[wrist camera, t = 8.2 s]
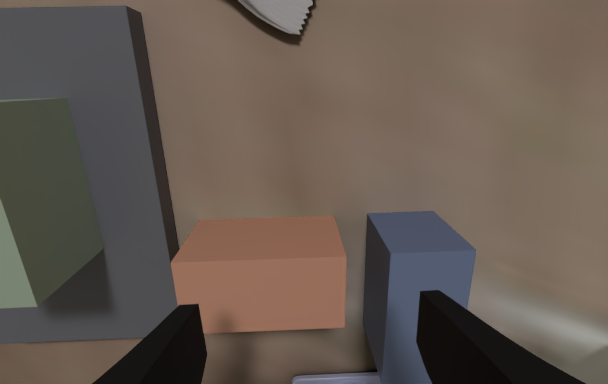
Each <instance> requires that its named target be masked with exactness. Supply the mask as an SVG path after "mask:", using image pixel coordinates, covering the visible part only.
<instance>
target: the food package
mask: <svg viewBox="0 0 608 384" xmlns="http://www.w3.org/2000/svg"><path fill="white" fill-rule="evenodd" d="M238 1H239V2H240V3H241V4H242V5H243V6H244V7H245V8H247V9H248V10H249V11H250V12H252V13H253V14H254V15H255V16H257V17H258V18H260V19H261V20H263V21H265V22H266V23H268V24H270V25H272V26H274V27H275V28H277V29H280V30H282V31H284V32H286V33H289V34H298V35H301V34H300V32H299V30H302V29H303V28H302V26H301V24H305V22H304V20H303V19H306V18H307V16H306V13H310V12H309V10H308V7H310V6H312V5H313V2H312V0H238Z"/></svg>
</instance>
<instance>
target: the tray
mask: <svg viewBox="0 0 608 384" xmlns="http://www.w3.org/2000/svg"><path fill="white" fill-rule="evenodd" d="M42 98H67V101H68V105H69V109H70V113H71V117H72V121H73V125H74V129H75V133H76V137H77V142H78V146H79V150H80V154H81V158H82V162H83V166H84V170H85V174H86V178H87V182H88V186H89V190H90V194H91V198H92V202H93V206H94V210H95V214H96V218H97V222H98V226H99V230H100V234H101V238H102V242H103V246H104V249H102V250H101V251H100V252H99V253H98V254H97V255H96V256H94V257H93V258H92V259H91V260H90V261H89V262H88V263H87V264H85V265H84V266H83V267H82V268H81V269H80V270H79V271H77V272H76V273H75V274H74V275H73V276H72V277H71V278H69V279H68V280H67V281H66V282H65V283H64V284H63V285H62V286H60V287H59V288H58V289H57V290H56V291H55V292H54V293H52V294H51V295H50V296H49V297H48V298H47V299H46V300H44V301H43V302H42V303H41V304H40V305H39V306H38V307H21V308H0V344H9V343H31V342H54V341H76V340H99V339H121V338H143V337H146V336H147V335H148V334H149V333H150V332H151V331H152V330H153V329H155V328H156V327H157V326H158V325H159V324H160V323H161V322H162V321H163V320H164V319H165V318H166V317H167V316H168V315H169V314H170V313H171V312H172V311H173V310H174V309H176V308H177V307H178V304H177V298H176V292H175V286H174V280H173V274H172V269H171V261H172V260H173V258H174V257H175V255H176V254H177V252H178V251H179V247H178V241H177V235H176V229H175V223H174V216H173V210H172V204H171V198H170V192H169V185H168V179H167V173H166V167H165V161H164V155H163V148H162V142H161V136H160V130H159V124H158V117H157V111H156V105H155V99H154V93H153V87H152V80H151V74H150V68H149V62H148V56H147V49H146V43H145V37H144V31H143V25H142V19H141V13H140V12H138V11H136V10H134V9H132V8H129V7H127V6H84V7H29V8H0V100H9V99H42Z"/></svg>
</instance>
